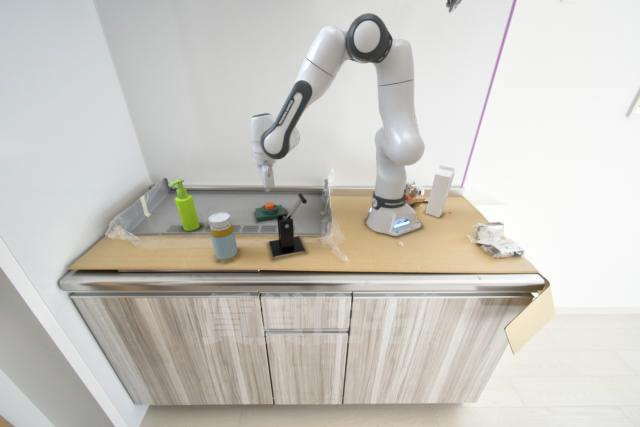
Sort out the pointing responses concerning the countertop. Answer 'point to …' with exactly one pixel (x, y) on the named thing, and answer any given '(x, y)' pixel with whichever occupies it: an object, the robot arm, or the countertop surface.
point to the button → (269, 206)
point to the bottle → (223, 236)
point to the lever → (296, 206)
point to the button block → (268, 213)
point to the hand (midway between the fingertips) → (267, 190)
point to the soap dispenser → (185, 207)
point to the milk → (440, 191)
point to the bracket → (285, 238)
